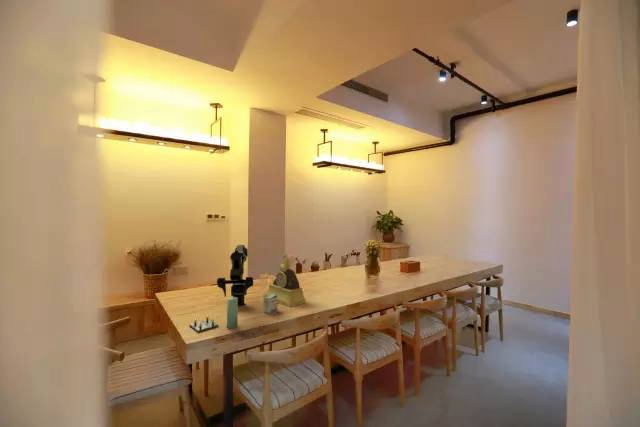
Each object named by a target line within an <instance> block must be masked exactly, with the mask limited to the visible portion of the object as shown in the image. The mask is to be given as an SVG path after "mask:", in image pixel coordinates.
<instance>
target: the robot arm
mask: <svg viewBox="0 0 640 427" xmlns="http://www.w3.org/2000/svg"><path fill="white" fill-rule="evenodd" d="M247 257H249V251H248V248H247V247H246V245H245V244H237V245H236V247H235V248H234V251H232V252H231V254H230V256H229V260H230V263H231V269H230V271H229V272H230V273H229V279H226V277H218V278H217V279H216V283H217V287H218V288H220V289H222V291H223V296H224V298H227V297H226V296H227V284H228V285H230V296H231V297H237V298H238V307H241V306H246V305H247V304H246V303H245V296H247V295H248V294H247V293H248V289H249V288H250V289H251V287H254V277H253V276H245V278H244V272H245V270H244V269H245V268H244V267H245V266H244V265H245V263H246V261H247V259H248V258H247ZM231 284H232V285H231Z"/></svg>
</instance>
